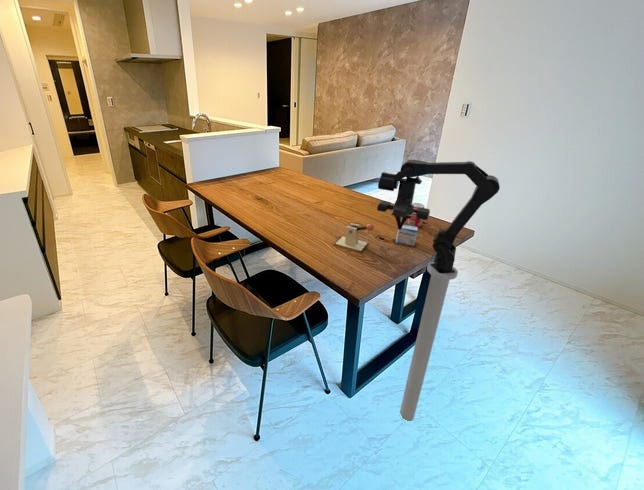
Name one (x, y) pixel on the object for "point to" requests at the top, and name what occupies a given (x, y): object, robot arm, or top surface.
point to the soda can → (414, 220)
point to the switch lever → (368, 227)
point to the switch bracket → (352, 239)
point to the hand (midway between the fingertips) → (399, 229)
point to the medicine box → (407, 235)
